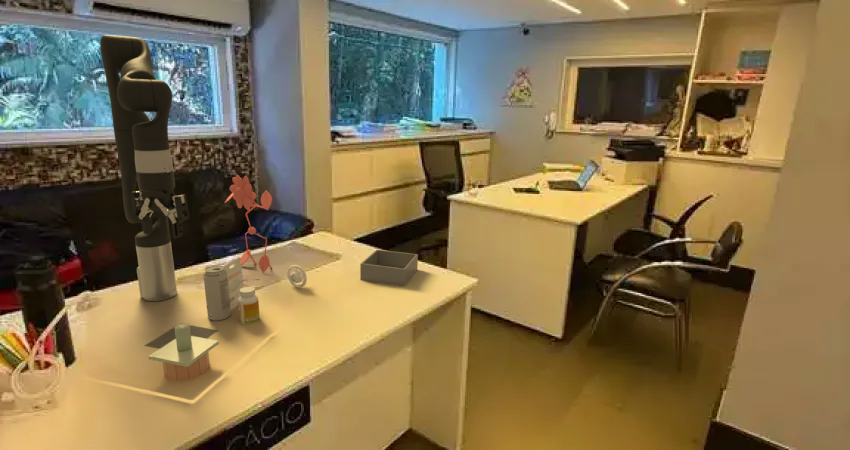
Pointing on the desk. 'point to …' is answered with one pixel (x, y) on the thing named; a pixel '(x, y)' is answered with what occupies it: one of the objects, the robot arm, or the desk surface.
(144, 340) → the desk surface
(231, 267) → the ink cartridge box
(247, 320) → the supplement bottle
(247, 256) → the pink flower figurine
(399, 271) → the tray
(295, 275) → the white round piece
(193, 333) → the mat
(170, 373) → the bowl
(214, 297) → the energy drink can
